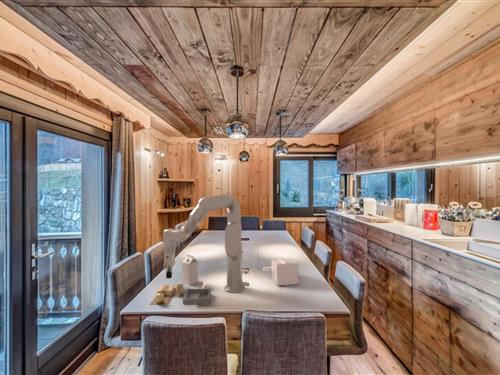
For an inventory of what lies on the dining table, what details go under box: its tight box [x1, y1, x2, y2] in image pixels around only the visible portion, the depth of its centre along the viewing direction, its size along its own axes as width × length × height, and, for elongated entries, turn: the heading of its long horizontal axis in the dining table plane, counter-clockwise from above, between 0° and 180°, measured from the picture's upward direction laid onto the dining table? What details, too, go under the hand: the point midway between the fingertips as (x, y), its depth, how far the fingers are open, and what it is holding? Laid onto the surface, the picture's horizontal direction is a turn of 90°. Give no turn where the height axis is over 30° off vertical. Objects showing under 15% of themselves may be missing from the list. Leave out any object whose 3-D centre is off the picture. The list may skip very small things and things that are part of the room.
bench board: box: [149, 287, 176, 306], centre depth 150 cm, size 10×23×1 cm, turn 4°
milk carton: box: [181, 254, 199, 286], centre depth 171 cm, size 7×7×19 cm
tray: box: [182, 287, 212, 306], centre depth 147 cm, size 14×14×4 cm
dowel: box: [175, 283, 184, 297], centre depth 151 cm, size 4×4×7 cm
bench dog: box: [156, 292, 164, 306], centre depth 141 cm, size 4×4×5 cm
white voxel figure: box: [262, 257, 299, 287], centre depth 180 cm, size 15×25×28 cm
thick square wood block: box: [156, 284, 176, 296], centre depth 154 cm, size 8×8×3 cm
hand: (169, 277), depth 163 cm, fingers closed
